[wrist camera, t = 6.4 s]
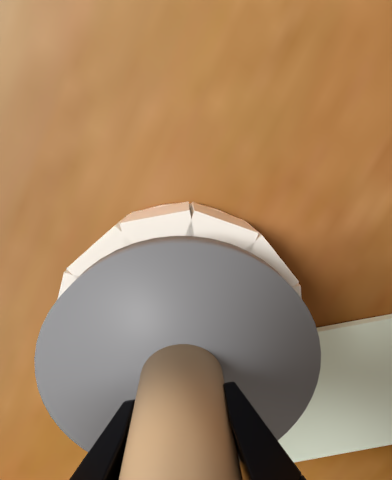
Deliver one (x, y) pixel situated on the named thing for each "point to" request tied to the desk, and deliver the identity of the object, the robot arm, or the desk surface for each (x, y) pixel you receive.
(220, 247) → the lid
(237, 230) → the bowl
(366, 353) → the mat
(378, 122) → the desk surface
